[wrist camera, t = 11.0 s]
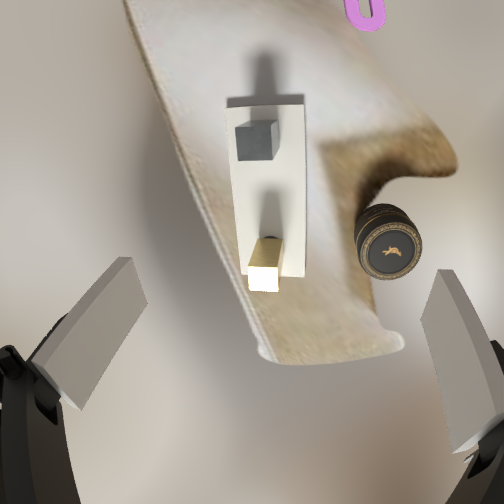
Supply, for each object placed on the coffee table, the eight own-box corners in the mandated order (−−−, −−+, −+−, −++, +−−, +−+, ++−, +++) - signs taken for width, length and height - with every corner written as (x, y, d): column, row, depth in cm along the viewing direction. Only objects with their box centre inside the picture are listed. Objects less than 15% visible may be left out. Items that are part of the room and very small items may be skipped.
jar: (344, 209, 43) (350, 231, 36) (403, 192, 39) (419, 212, 33) (359, 261, 47) (365, 289, 41) (413, 246, 43) (426, 272, 37)
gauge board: (227, 107, 38) (224, 108, 37) (303, 104, 36) (303, 104, 34) (243, 269, 52) (241, 274, 51) (304, 272, 50) (304, 277, 49)
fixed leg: (249, 120, 37) (234, 127, 30) (278, 119, 36) (270, 125, 29) (251, 147, 39) (237, 161, 32) (280, 146, 38) (272, 160, 31)
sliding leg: (257, 236, 46) (247, 266, 39) (283, 237, 45) (277, 267, 38) (259, 258, 48) (249, 289, 41) (283, 259, 47) (277, 291, 40)
